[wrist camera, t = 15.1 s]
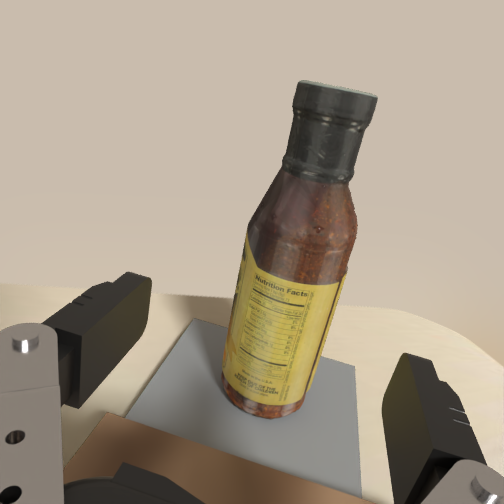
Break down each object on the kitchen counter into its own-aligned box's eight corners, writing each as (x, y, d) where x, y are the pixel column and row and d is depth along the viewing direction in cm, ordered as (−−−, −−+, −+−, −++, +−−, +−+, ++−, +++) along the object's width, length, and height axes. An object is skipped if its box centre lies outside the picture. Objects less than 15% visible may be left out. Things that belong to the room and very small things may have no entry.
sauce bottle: (257, 350, 31) (324, 86, 24) (321, 397, 28) (423, 106, 20) (195, 384, 27) (254, 67, 19) (264, 445, 23) (369, 87, 16)
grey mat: (122, 432, 23) (123, 419, 23) (192, 327, 34) (194, 317, 34) (356, 513, 21) (362, 501, 21) (351, 375, 32) (354, 366, 32)
